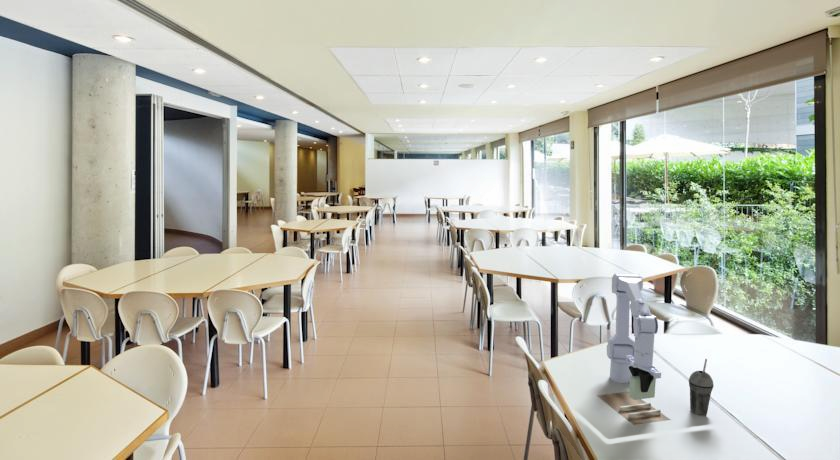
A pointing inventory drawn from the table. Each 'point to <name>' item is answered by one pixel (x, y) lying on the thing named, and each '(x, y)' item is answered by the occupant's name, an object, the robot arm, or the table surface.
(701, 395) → the beverage cup
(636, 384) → the door panel
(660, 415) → the track base
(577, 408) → the table surface
